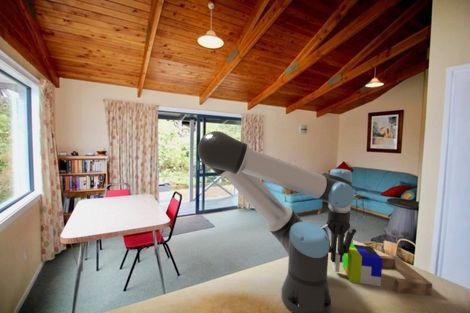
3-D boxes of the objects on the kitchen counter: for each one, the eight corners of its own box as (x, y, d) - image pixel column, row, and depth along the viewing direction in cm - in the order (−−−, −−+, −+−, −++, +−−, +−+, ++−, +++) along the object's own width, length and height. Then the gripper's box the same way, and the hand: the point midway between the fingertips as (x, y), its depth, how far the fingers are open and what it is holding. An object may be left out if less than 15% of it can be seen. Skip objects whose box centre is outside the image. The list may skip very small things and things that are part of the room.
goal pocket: (397, 293, 75) (398, 281, 74) (368, 264, 93) (369, 255, 92) (431, 295, 74) (432, 284, 74) (395, 265, 92) (396, 256, 92)
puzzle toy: (380, 286, 78) (382, 259, 78) (350, 281, 80) (352, 255, 80) (369, 270, 88) (371, 246, 87) (342, 266, 90) (344, 243, 89)
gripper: (325, 212, 80) (321, 274, 81) (361, 213, 79) (357, 276, 80) (318, 206, 87) (315, 263, 89) (351, 207, 87) (348, 265, 88)
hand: (335, 269), depth 85 cm, fingers closed
